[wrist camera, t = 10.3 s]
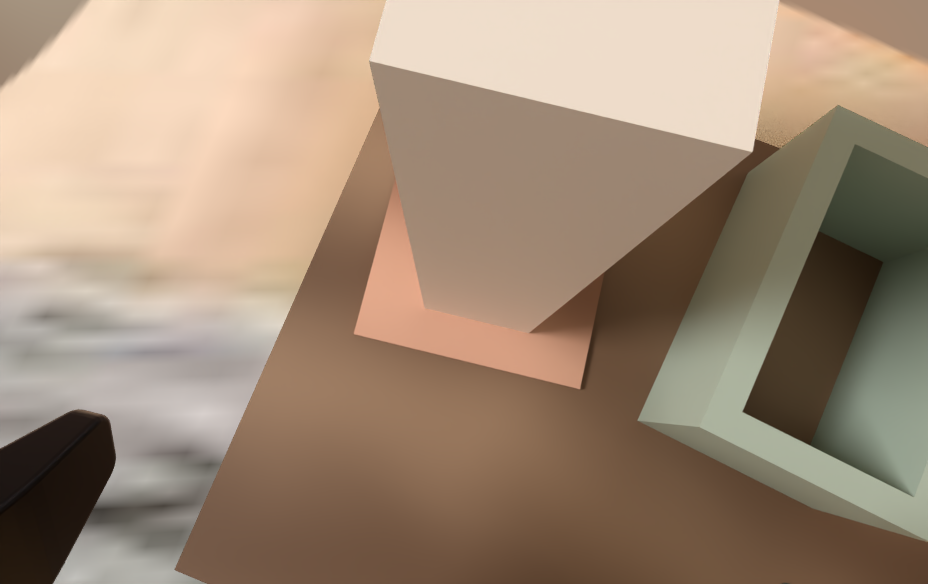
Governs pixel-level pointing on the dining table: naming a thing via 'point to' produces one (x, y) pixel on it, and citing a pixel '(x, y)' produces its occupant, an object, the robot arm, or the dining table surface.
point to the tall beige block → (557, 135)
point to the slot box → (764, 302)
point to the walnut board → (524, 426)
